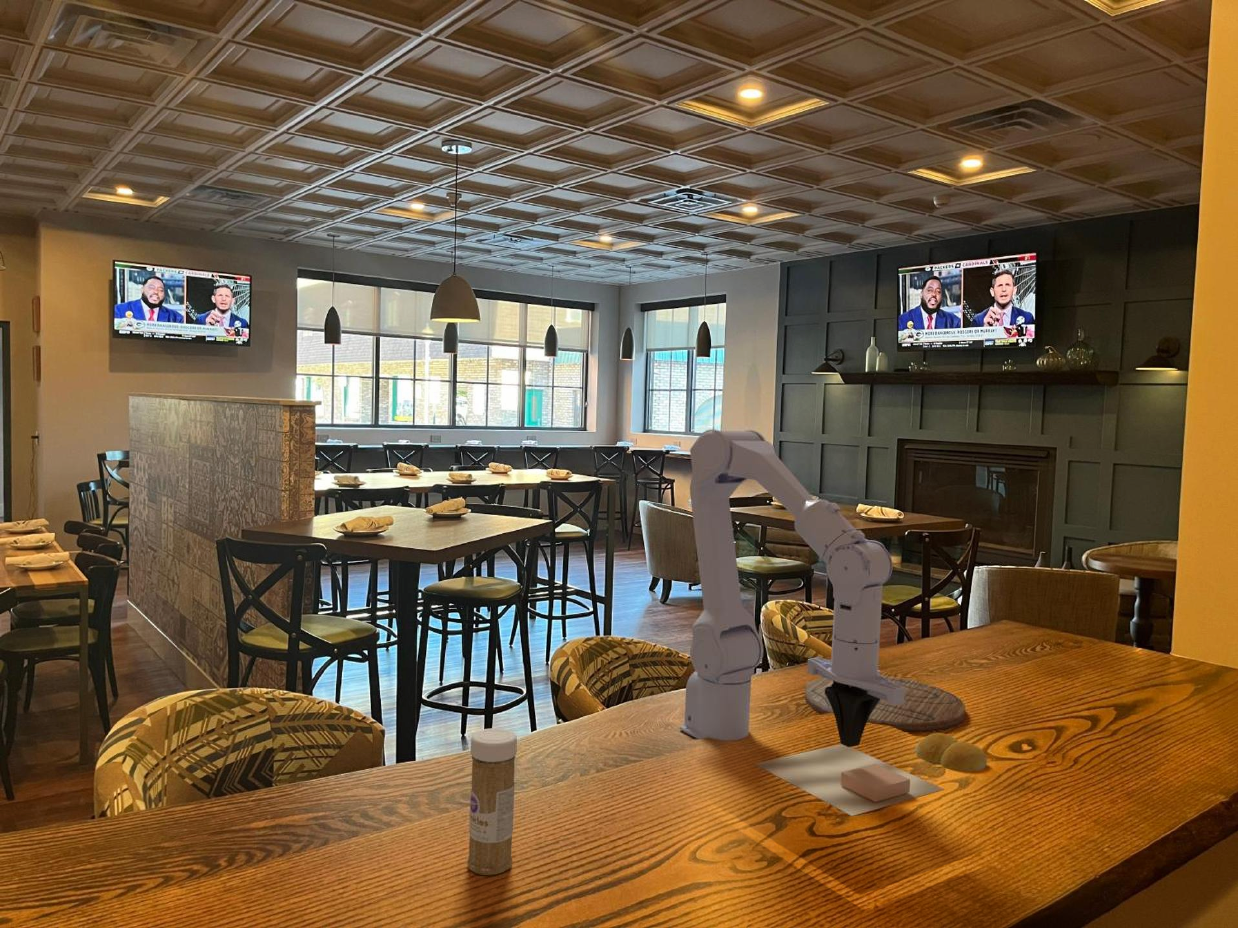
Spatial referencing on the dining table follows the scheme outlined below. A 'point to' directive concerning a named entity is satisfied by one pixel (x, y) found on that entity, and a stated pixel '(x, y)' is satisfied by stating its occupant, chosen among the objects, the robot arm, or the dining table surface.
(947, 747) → the bread roll
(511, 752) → the sprinkles bottle
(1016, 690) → the dining table surface
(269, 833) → the dining table surface
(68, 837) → the dining table surface
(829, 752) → the board
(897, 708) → the trivet
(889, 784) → the block
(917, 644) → the dining table surface
